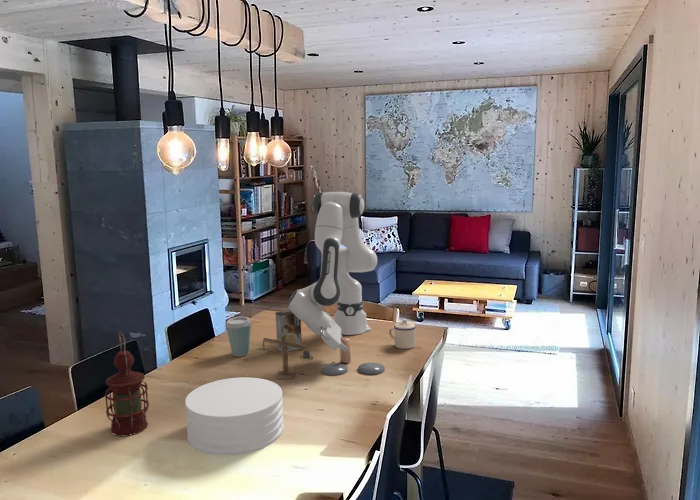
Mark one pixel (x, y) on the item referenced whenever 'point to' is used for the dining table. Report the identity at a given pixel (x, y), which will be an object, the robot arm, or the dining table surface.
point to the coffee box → (288, 329)
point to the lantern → (126, 396)
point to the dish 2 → (371, 368)
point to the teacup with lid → (404, 334)
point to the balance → (286, 356)
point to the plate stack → (234, 416)
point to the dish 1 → (334, 369)
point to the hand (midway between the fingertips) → (346, 347)
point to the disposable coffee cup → (239, 335)
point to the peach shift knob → (346, 355)
